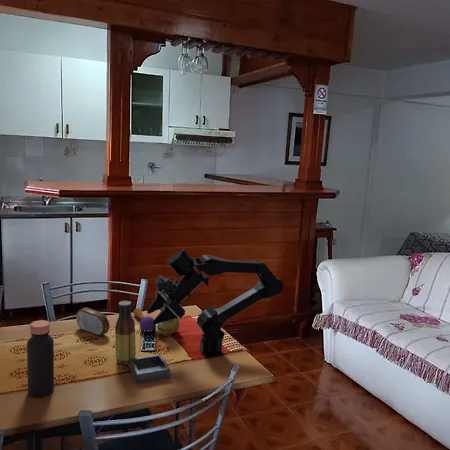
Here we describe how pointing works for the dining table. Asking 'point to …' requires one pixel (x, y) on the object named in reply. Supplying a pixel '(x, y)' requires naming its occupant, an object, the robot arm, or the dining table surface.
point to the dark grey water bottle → (40, 360)
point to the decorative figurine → (168, 326)
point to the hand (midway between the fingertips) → (150, 318)
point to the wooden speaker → (92, 321)
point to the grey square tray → (149, 368)
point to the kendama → (144, 320)
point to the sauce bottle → (125, 334)
